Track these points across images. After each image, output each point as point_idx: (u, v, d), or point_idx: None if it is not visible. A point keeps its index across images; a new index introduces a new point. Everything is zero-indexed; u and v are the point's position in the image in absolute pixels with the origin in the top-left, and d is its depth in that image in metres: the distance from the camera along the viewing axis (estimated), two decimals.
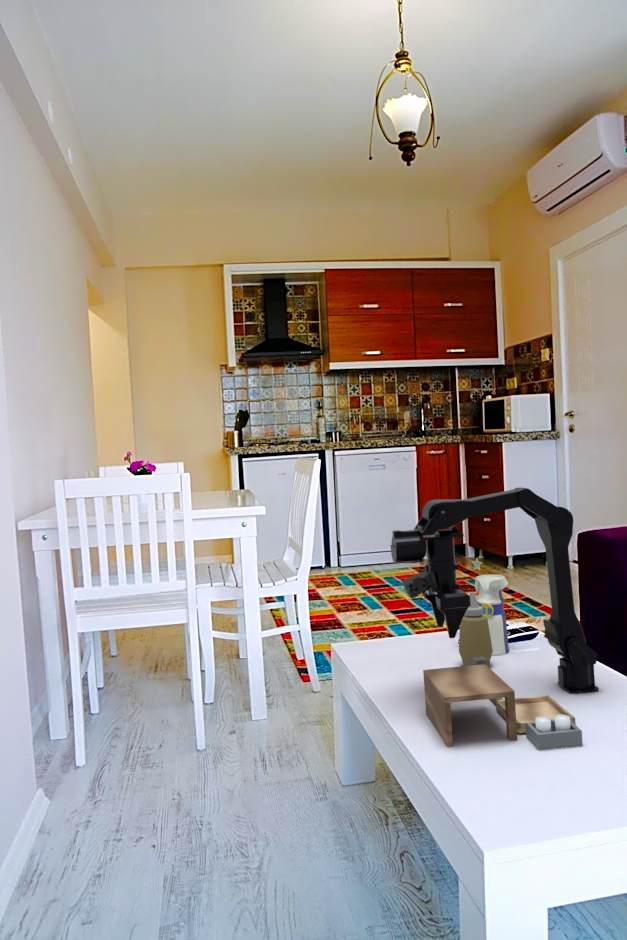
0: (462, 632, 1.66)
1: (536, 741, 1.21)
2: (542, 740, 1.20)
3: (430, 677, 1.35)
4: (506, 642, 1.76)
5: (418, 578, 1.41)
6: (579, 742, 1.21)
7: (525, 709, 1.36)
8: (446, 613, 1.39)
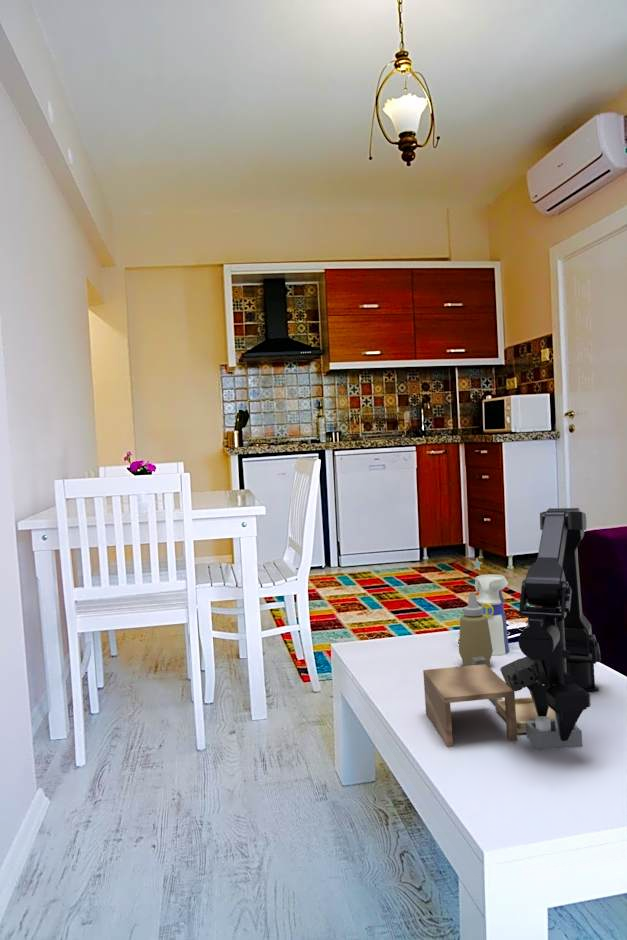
0: (462, 632, 1.66)
1: (535, 741, 1.21)
2: (541, 740, 1.20)
3: (430, 677, 1.35)
4: (506, 642, 1.76)
5: (525, 669, 1.18)
6: (579, 742, 1.21)
7: (524, 709, 1.36)
8: (559, 713, 1.17)
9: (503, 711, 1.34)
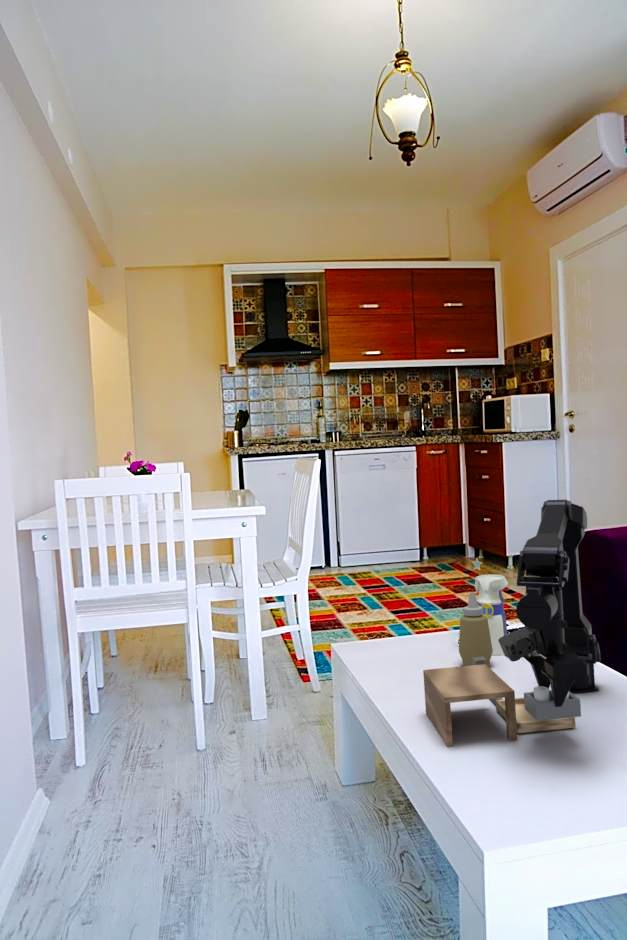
0: (462, 632, 1.66)
1: (534, 711, 1.21)
2: (540, 709, 1.20)
3: (430, 677, 1.35)
4: None
5: (522, 639, 1.18)
6: (577, 711, 1.21)
7: None
8: (553, 679, 1.18)
9: (503, 711, 1.34)
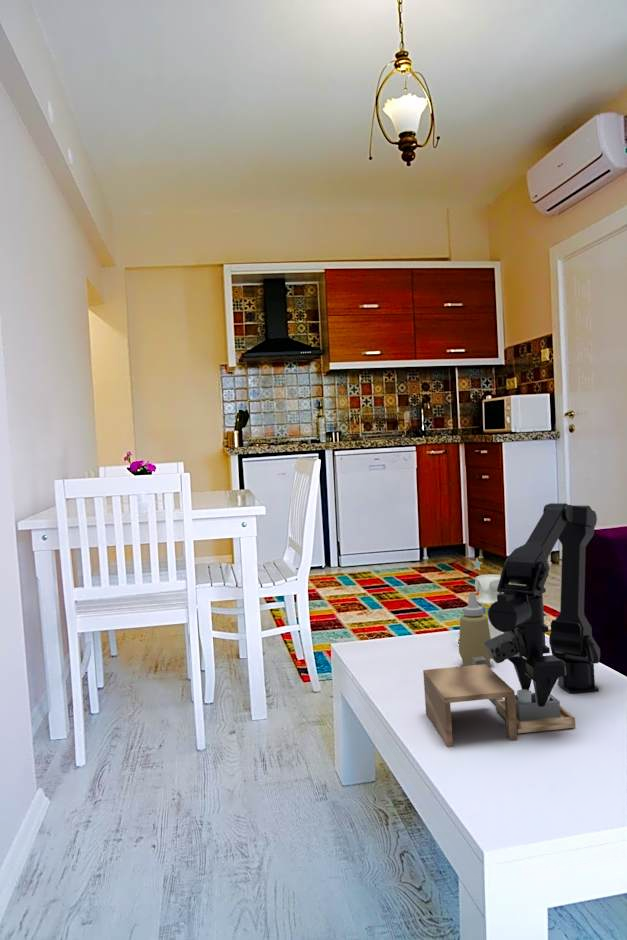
0: (462, 632, 1.66)
1: (517, 712, 1.31)
2: (523, 710, 1.30)
3: (430, 677, 1.35)
4: None
5: (506, 642, 1.28)
6: (557, 712, 1.31)
7: None
8: (536, 680, 1.27)
9: (503, 711, 1.34)
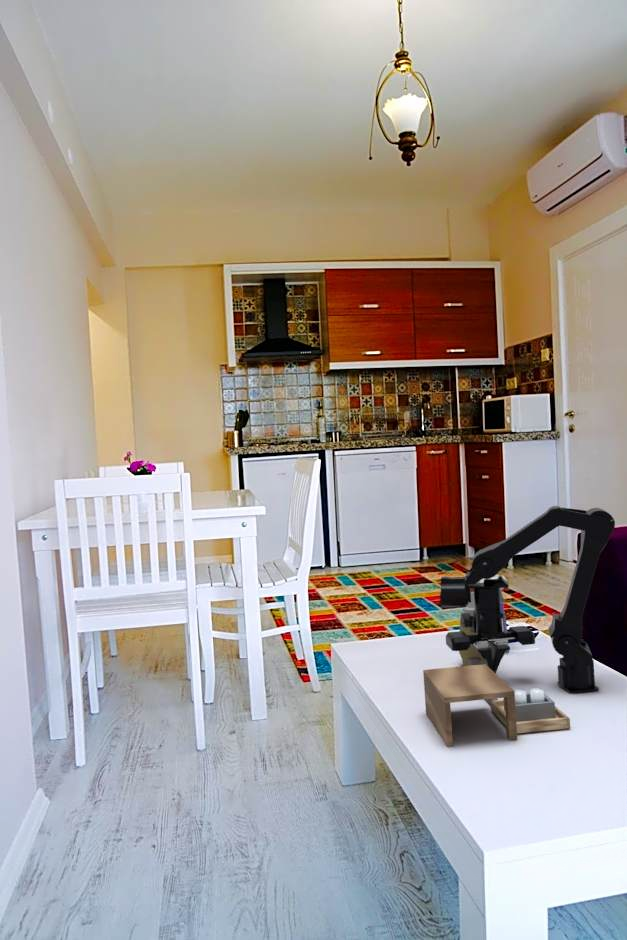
0: None
1: None
2: (518, 711, 1.30)
3: (430, 677, 1.35)
4: None
5: (462, 614, 1.59)
6: (552, 713, 1.31)
7: None
8: None
9: (498, 711, 1.34)
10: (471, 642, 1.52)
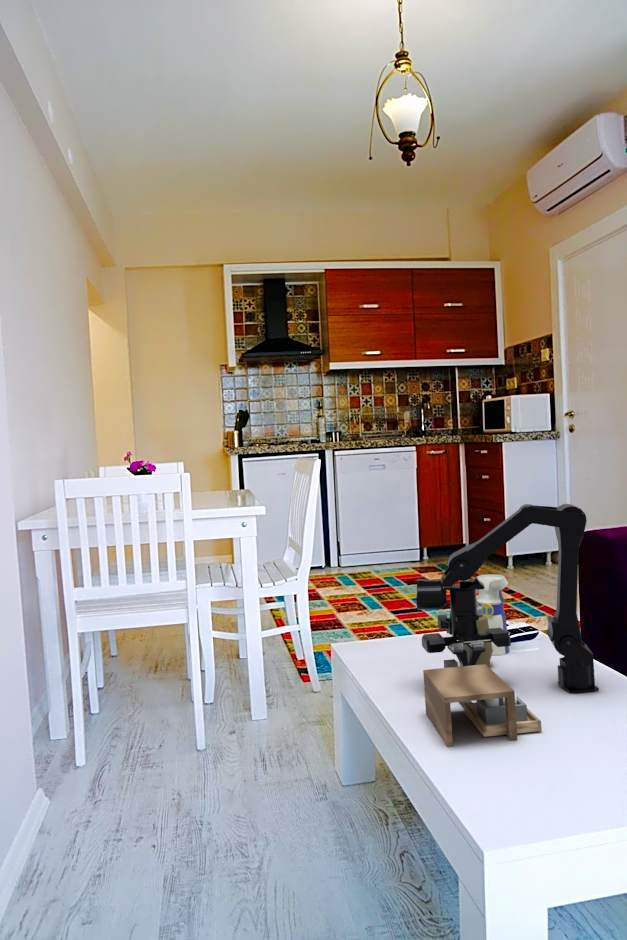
0: None
1: (484, 715, 1.31)
2: (490, 714, 1.30)
3: (430, 677, 1.35)
4: None
5: (438, 616, 1.58)
6: (524, 716, 1.30)
7: None
8: None
9: (471, 714, 1.34)
10: (447, 644, 1.52)
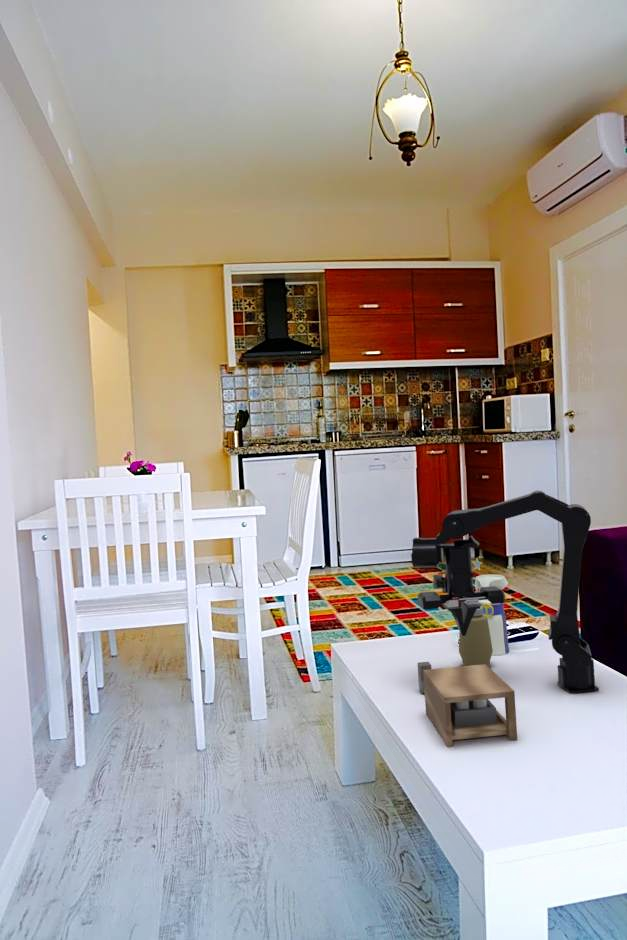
0: None
1: (453, 718, 1.30)
2: (459, 717, 1.29)
3: (430, 677, 1.35)
4: (506, 642, 1.76)
5: (434, 576, 1.61)
6: (493, 719, 1.30)
7: None
8: None
9: None
10: (442, 601, 1.54)
